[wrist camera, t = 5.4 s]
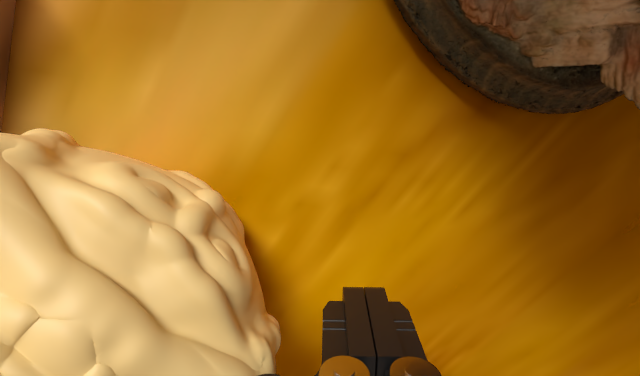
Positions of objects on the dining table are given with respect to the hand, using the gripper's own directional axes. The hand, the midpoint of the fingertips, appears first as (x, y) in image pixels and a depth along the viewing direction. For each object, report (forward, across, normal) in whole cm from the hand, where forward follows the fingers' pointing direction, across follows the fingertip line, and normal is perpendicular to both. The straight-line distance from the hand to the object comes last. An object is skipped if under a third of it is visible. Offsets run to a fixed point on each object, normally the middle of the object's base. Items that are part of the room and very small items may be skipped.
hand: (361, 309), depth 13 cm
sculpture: (+4, +9, 0) cm, 10 cm away
